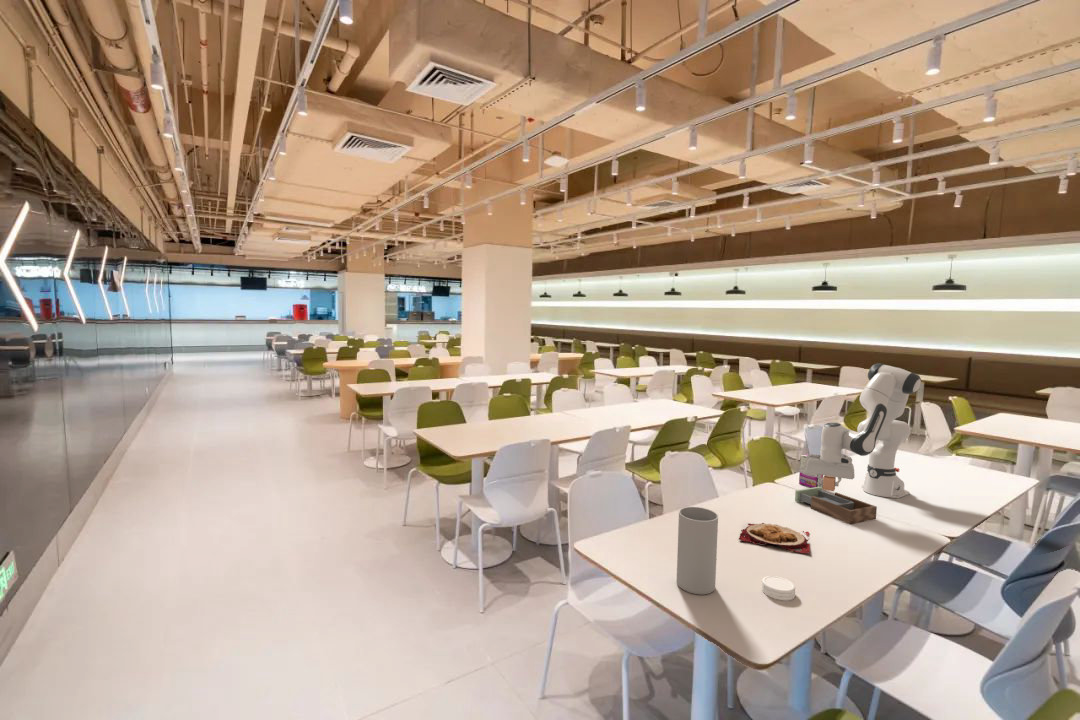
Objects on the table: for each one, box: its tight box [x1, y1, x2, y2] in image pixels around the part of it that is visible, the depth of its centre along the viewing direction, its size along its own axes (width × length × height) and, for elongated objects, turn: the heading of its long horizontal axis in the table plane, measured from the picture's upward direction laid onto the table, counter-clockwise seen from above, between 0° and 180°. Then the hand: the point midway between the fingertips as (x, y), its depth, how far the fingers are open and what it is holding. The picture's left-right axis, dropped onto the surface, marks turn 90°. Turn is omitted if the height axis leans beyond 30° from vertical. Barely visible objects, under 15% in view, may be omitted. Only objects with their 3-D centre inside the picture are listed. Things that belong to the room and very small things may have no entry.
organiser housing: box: [810, 491, 878, 525], centre depth 232 cm, size 17×20×6 cm
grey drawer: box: [794, 487, 854, 510], centre depth 241 cm, size 17×20×6 cm
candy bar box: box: [798, 454, 824, 490], centre depth 271 cm, size 11×5×16 cm, turn 25°
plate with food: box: [738, 522, 811, 554], centre depth 206 cm, size 24×26×4 cm
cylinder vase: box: [676, 506, 719, 596], centre depth 167 cm, size 12×12×25 cm
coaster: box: [761, 575, 796, 601], centre depth 164 cm, size 10×10×4 cm
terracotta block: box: [822, 475, 837, 492], centre depth 239 cm, size 5×5×6 cm
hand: (829, 484), depth 239 cm, fingers closed on terracotta block, 5 cm apart
